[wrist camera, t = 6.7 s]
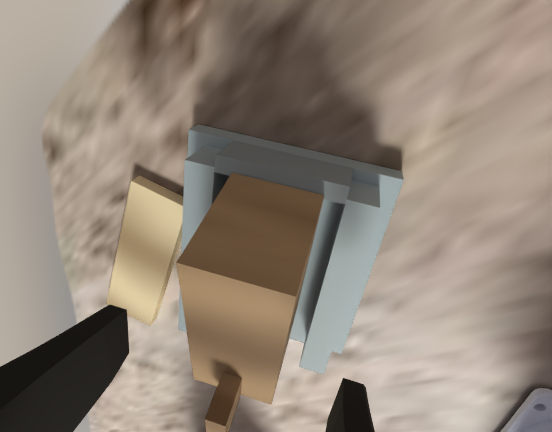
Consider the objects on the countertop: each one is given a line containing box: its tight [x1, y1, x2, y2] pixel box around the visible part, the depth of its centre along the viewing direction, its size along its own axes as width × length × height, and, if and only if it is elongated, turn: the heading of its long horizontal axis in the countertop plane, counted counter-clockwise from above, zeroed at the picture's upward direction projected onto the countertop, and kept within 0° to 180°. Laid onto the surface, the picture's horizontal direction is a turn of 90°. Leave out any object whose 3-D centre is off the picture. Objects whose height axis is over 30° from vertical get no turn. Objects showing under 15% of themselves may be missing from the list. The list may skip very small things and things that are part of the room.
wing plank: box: [106, 176, 183, 326], centre depth 20 cm, size 9×3×1 cm, turn 158°
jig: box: [178, 124, 404, 374], centre depth 17 cm, size 10×9×3 cm
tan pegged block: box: [176, 173, 324, 432], centre depth 14 cm, size 8×4×6 cm, turn 170°
